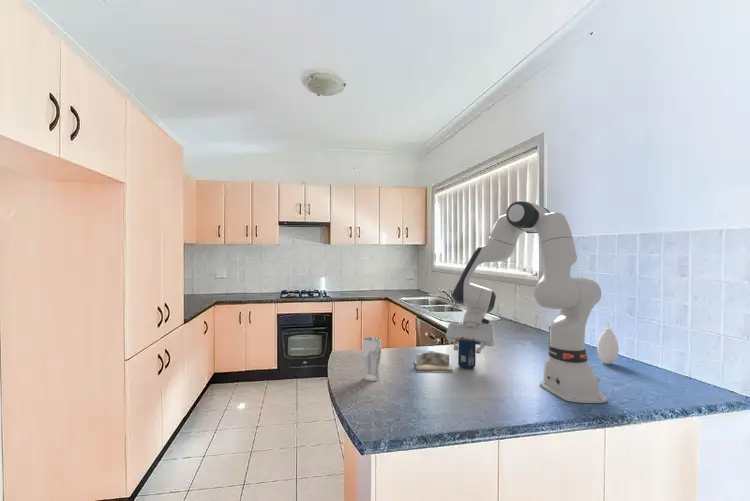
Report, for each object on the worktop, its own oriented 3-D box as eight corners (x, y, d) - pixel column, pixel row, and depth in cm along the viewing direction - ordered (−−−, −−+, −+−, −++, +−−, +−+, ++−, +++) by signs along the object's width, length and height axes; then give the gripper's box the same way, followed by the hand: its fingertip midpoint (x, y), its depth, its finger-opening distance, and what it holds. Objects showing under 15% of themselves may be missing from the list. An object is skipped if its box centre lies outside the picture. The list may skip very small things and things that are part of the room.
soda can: (462, 364, 165) (463, 335, 165) (478, 367, 161) (478, 338, 161) (455, 367, 160) (455, 338, 160) (470, 371, 155) (471, 341, 155)
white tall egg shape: (593, 362, 170) (593, 321, 170) (604, 360, 173) (605, 320, 173) (610, 367, 163) (611, 324, 163) (622, 365, 166) (622, 323, 166)
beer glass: (358, 379, 143) (359, 339, 143) (367, 374, 149) (368, 335, 149) (375, 383, 140) (376, 341, 140) (384, 377, 146) (384, 337, 146)
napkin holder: (452, 372, 154) (452, 359, 154) (417, 371, 154) (417, 359, 154) (447, 362, 167) (447, 351, 167) (414, 362, 167) (414, 350, 167)
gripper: (448, 317, 171) (440, 343, 163) (495, 321, 161) (490, 350, 153) (451, 325, 175) (444, 351, 167) (497, 330, 165) (492, 358, 157)
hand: (466, 351), depth 160 cm, fingers open, 8 cm apart
